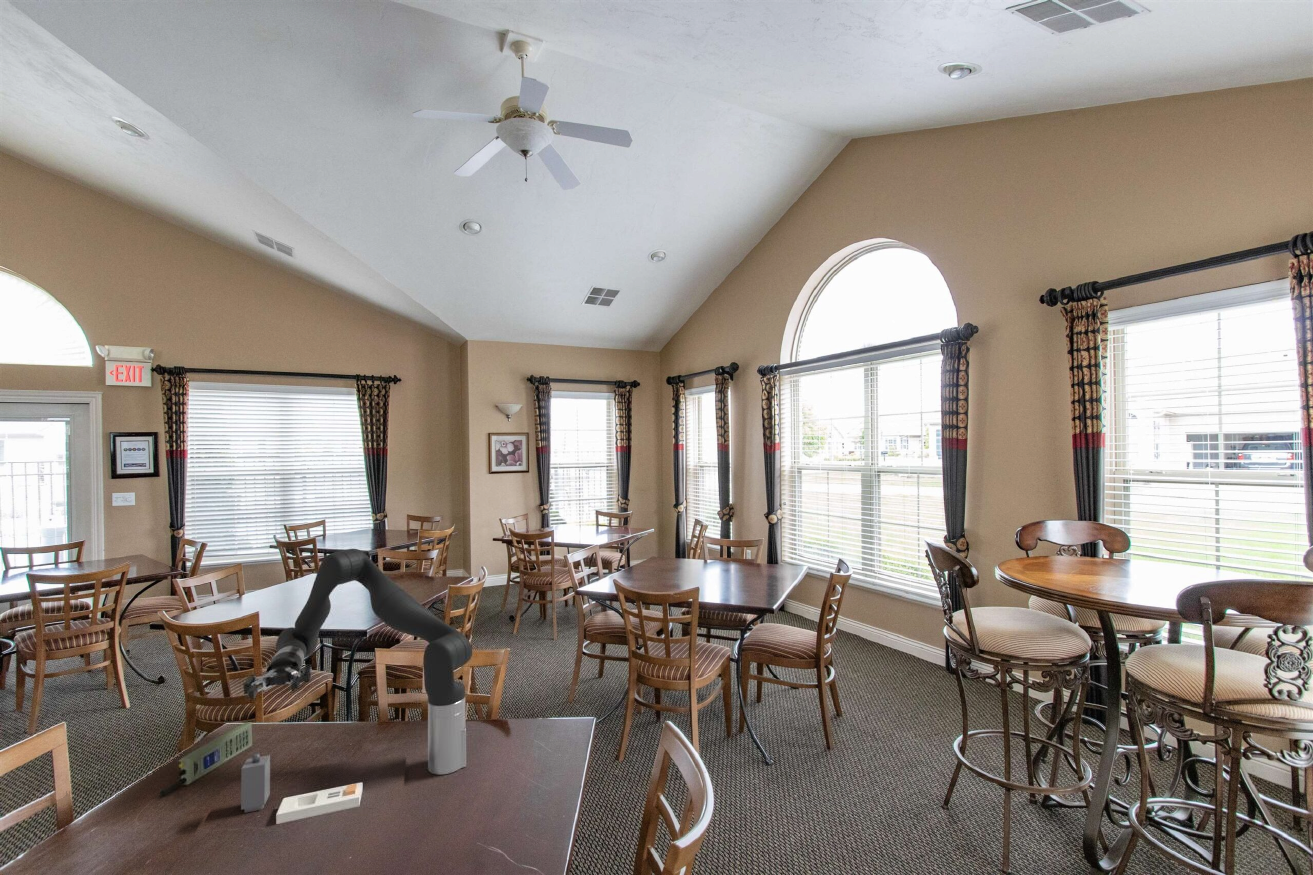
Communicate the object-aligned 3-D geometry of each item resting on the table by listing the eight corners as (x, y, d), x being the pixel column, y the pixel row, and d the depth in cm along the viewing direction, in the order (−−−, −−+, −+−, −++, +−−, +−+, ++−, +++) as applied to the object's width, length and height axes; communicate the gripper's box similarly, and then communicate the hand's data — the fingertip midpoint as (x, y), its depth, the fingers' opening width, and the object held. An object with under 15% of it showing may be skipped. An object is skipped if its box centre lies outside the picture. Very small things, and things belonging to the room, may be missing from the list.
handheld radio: (254, 745, 159) (168, 799, 134) (244, 745, 160) (156, 799, 135) (254, 721, 159) (167, 770, 135) (243, 721, 160) (155, 770, 135)
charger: (269, 802, 131) (270, 747, 131) (264, 813, 127) (264, 757, 127) (247, 807, 129) (247, 751, 130) (241, 818, 125) (241, 761, 126)
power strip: (390, 791, 136) (390, 773, 136) (388, 806, 130) (388, 787, 130) (283, 813, 128) (283, 794, 128) (276, 831, 122) (276, 810, 122)
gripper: (253, 656, 151) (236, 683, 136) (315, 646, 156) (305, 670, 141) (256, 683, 151) (239, 713, 136) (317, 672, 157) (307, 699, 142)
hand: (272, 691), depth 139 cm, fingers open, 8 cm apart
